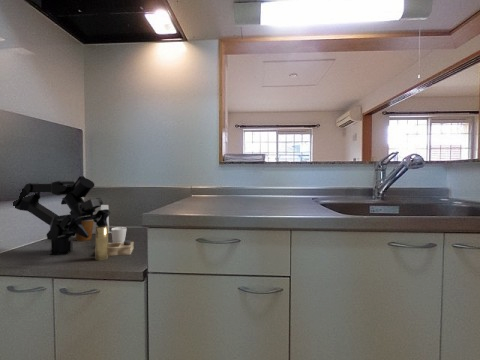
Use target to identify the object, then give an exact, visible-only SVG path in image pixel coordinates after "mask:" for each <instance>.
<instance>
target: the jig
mask: <svg viewBox="0 0 480 360" xmlns="http://www.w3.org/2000/svg"><path fill="white" fill-rule="evenodd" d="M134 243H135V242H134V241H131V240H125V241H124V242H116V243H113V242H108V257H109V256H126V255H127V256H128V255H132V253H133V251H134V248H135V247H134Z"/></svg>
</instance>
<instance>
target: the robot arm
mask: <svg viewBox="0 0 480 360" xmlns="http://www.w3.org/2000/svg"><path fill="white" fill-rule="evenodd" d="M94 187H95V182H93V181H92V180H90V179H89V178H87V177H85V176H84V175H83V176H79V177H78V178H77V179H76V181H73V180H56V181H53V182H50V183H39V182H29V183H26V184H25V185H24V187H22V188H21V189H22V192H21V193H20V196H19V199H18V200H16V201H14V202H13V206H15V208H14V209H17V210H19V211H26V212H28V213H30V214H32V215H33V216H35V217H37V218H38V219H39V220H41V221H42V222H44V223H45V224H47V225H49V230H48V232H47V233H46V239H47V240H51V241H50V243H51V246H50V249H51V250H50V251H51V252H49V253H48V254H49V255H52V256H53V255H68V254H69V253H70V252H71V251H73V249H74V247H73V246H74V245H73V244H74V241H73V240H72V237H76V233H77V234H79V235H81V236H83V237H85V238H88V237H89V235H88V233H87V232H86V230H85V229H84V227H83V225H82V223H81V221H82V222H83V221H89V220H94V222H96V225H97V226H107V217H108V216H110V215H111V212H110V210H108V209H104V210H99V211H98V212H97V213H96V214H94V215H93V212H95V211H96V210H95V209H96V208H98V207H101V205H104V202H103V199H102V198H101V197H95V198H91V199H87V200H86V201H85V200H84V198H85V197H88V195H89V194H90V192H91V191H92V190H93V188H94ZM31 193H35V195H34V194H33V195H31V196H28V197H25V196H26V195H29V194H31ZM40 193H51V194H52V195H56V196H64V197H62V198H61V199H62V200H61V202H60V203H61V205H66V206H67V207H68V208H69V210H70V211H69V214H68V213H67V214H63V215H62V214H61V215H58V214H57V213H55V212H53V211H52V210H51V209H48V208H47V207H46V206H44V205H43V204H41V203H40V201H39V200H40V199H41V194H40ZM23 197H24V198H23ZM13 206H12V207H13ZM108 232H110V230H109V231H108Z"/></svg>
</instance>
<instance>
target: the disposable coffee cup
mask: <svg viewBox="0 0 480 360" xmlns="http://www.w3.org/2000/svg"><path fill="white" fill-rule="evenodd" d="M81 223H82V225H83V227H84V229H85V230H86V232H87V233H88V235H89V237H88V238H85V237H83V236H81V235H79V234H77V233H75V239H76V241H77V242H87V241H90V240H92V235H93V234H92V230H93V223H94V220H89V221H83V222H82V221H81Z"/></svg>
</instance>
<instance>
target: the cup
mask: <svg viewBox="0 0 480 360" xmlns="http://www.w3.org/2000/svg"><path fill="white" fill-rule="evenodd" d="M127 230H128V229H127V227H125V226H116V227H112V228H111V229H110V230H109V232H108V234H111V238H112V239H111V240H112V243H116V242H124V241H126V234H127Z"/></svg>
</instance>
